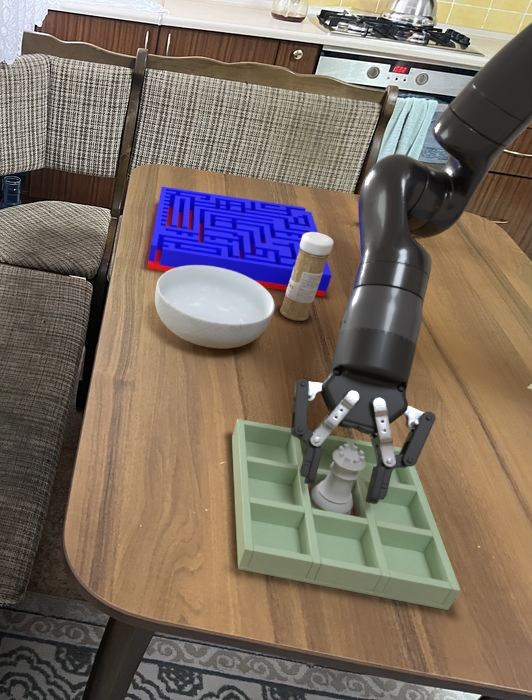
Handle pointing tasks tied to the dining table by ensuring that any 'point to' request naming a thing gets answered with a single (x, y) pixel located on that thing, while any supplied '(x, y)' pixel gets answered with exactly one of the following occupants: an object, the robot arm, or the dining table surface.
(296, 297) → the sprinkles bottle
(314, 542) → the grid
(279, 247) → the maze
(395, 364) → the robot arm
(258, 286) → the cereal bowl
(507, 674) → the dining table surface
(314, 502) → the rook chess piece
